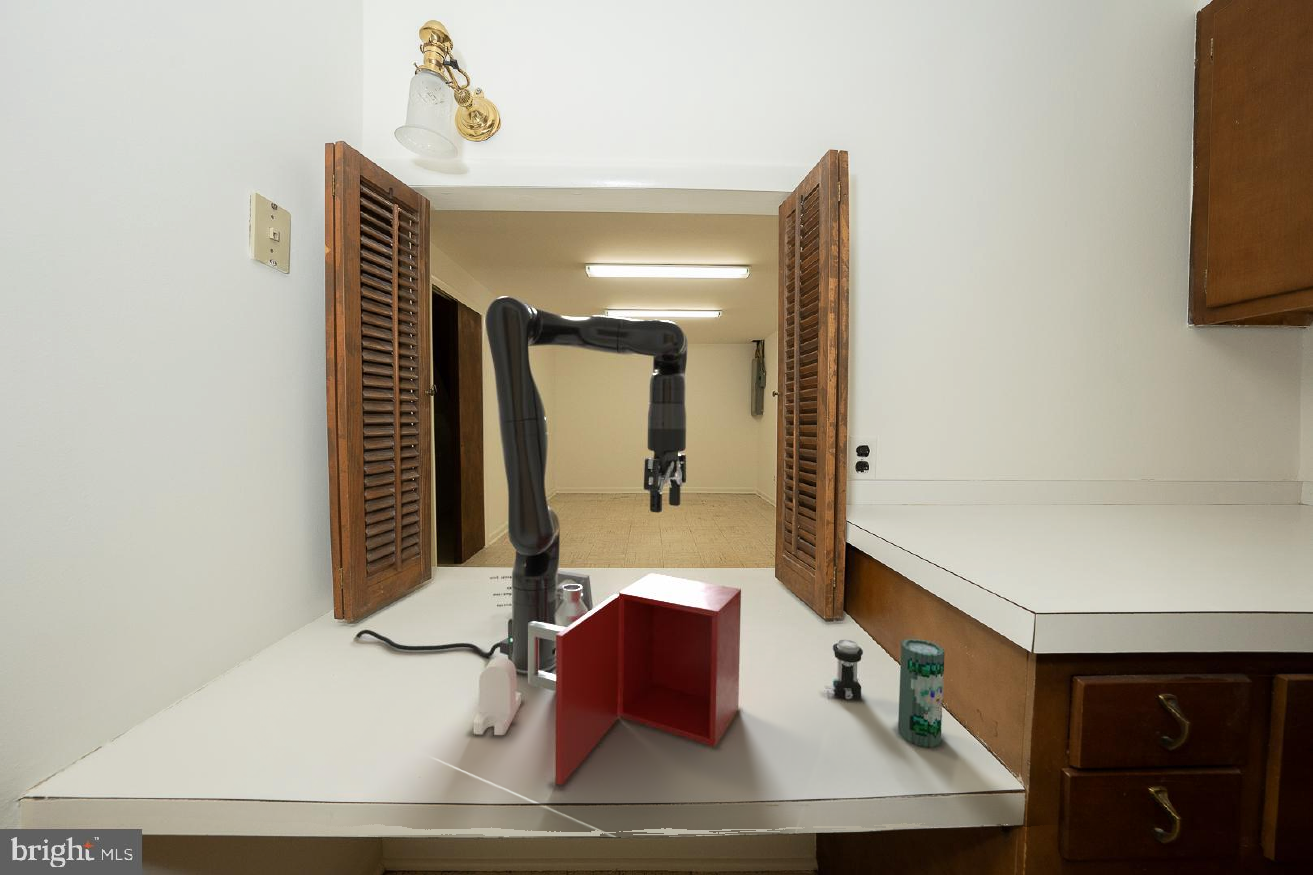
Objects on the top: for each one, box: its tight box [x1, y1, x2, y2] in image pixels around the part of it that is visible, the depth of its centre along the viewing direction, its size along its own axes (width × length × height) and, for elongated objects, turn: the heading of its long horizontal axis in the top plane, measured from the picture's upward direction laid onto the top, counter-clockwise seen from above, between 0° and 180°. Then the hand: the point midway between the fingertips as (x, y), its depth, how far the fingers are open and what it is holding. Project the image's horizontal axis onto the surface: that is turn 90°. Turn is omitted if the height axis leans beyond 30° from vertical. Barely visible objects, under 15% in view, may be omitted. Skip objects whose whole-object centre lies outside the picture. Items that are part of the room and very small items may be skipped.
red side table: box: [527, 594, 619, 787], centre depth 84 cm, size 7×18×22 cm, turn 158°
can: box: [897, 638, 946, 748], centre depth 88 cm, size 6×6×15 cm
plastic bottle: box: [554, 584, 589, 674], centre depth 100 cm, size 6×7×20 cm
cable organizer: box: [473, 656, 522, 736], centre depth 91 cm, size 5×10×10 cm, turn 178°
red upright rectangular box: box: [618, 573, 742, 747], centre depth 93 cm, size 12×18×22 cm, turn 63°
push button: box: [824, 639, 864, 700], centre depth 100 cm, size 7×5×10 cm
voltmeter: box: [489, 570, 594, 612], centre depth 138 cm, size 27×11×10 cm, turn 103°
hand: (665, 508), depth 104 cm, fingers open, 8 cm apart
